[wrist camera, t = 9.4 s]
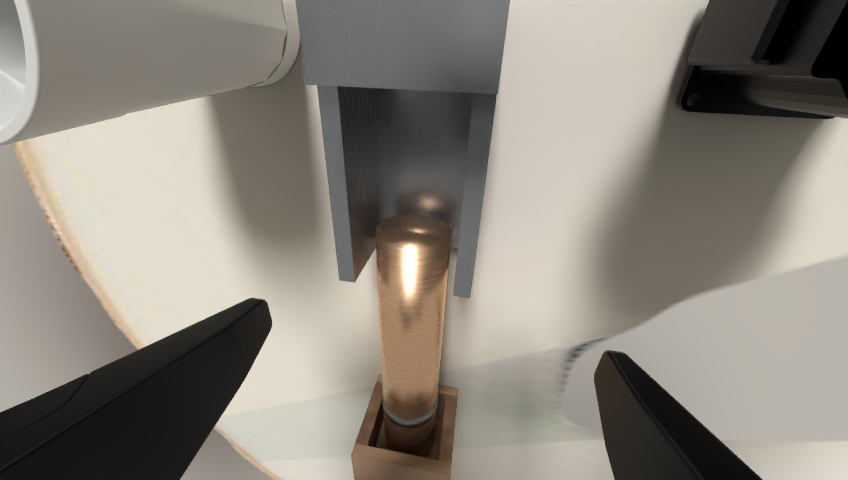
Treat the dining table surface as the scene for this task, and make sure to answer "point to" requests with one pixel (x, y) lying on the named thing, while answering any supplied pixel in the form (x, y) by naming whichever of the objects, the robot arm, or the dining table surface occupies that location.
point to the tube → (411, 325)
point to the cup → (132, 56)
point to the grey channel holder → (404, 114)
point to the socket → (398, 472)
